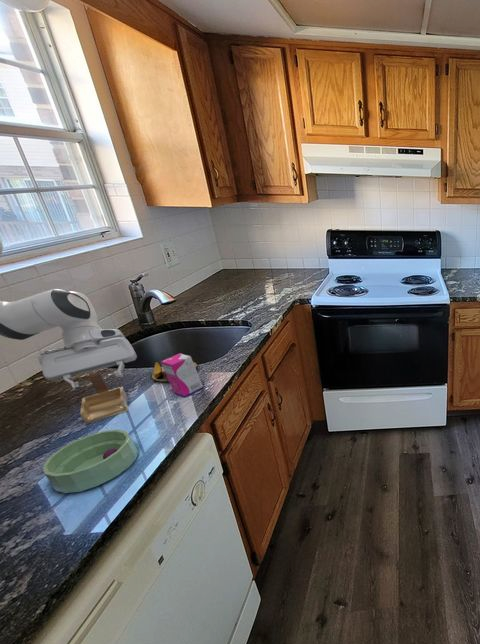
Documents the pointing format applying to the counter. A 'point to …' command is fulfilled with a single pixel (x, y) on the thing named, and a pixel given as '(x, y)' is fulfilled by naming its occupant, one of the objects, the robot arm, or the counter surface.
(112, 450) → the ball
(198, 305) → the counter surface
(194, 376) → the supplement box
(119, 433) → the bowl
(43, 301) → the robot arm
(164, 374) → the toy sandwich meal
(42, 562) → the counter surface
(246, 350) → the counter surface
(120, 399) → the scoop
